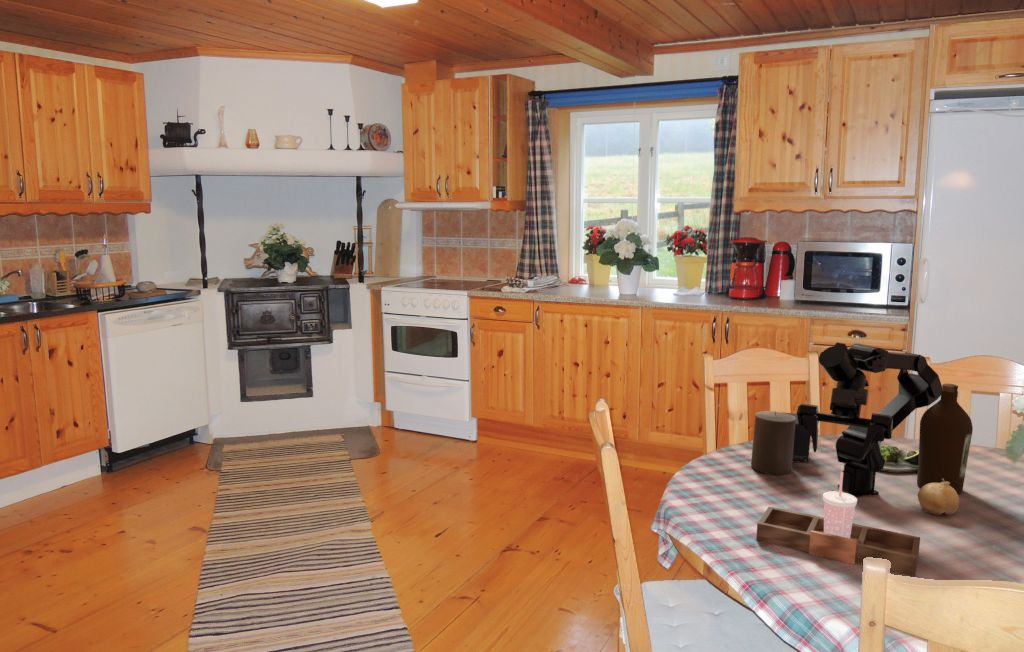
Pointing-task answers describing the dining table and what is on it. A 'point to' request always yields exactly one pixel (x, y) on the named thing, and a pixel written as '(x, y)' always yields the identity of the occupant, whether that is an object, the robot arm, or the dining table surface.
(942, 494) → the onion
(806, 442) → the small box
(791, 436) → the pillar candle
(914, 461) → the salad plate
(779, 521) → the wooden compartment tray
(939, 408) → the olive oil
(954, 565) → the dining table surface
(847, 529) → the beverage cup
